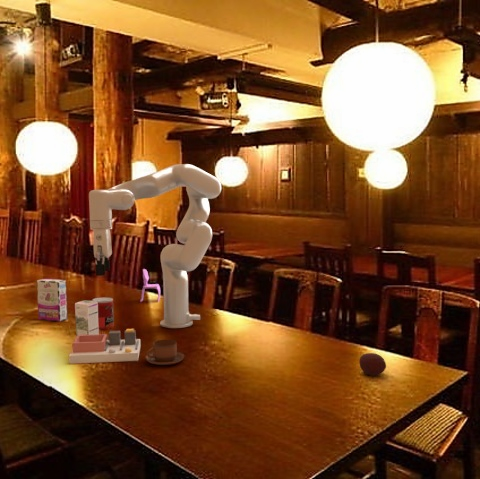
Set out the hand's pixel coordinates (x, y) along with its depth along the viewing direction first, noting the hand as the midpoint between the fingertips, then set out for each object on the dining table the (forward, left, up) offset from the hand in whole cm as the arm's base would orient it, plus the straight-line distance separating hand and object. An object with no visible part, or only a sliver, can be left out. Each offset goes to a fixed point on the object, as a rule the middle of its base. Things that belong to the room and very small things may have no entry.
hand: (102, 273), depth 205 cm
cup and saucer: (-22, +29, -24) cm, 44 cm away
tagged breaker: (-10, +17, -21) cm, 29 cm away
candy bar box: (+24, -32, -24) cm, 47 cm away
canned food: (+2, -16, -24) cm, 29 cm away
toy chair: (-14, -64, -24) cm, 70 cm away
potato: (-82, +50, -24) cm, 98 cm away
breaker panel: (-3, +20, -24) cm, 31 cm away
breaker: (-5, +17, -21) cm, 27 cm away
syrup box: (+5, +5, -24) cm, 25 cm away
